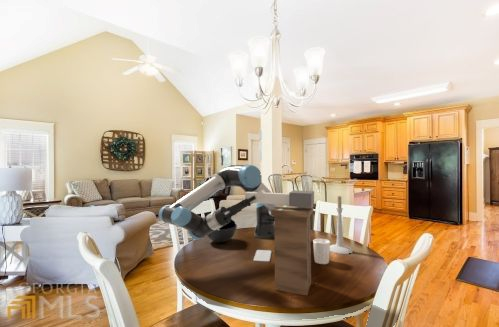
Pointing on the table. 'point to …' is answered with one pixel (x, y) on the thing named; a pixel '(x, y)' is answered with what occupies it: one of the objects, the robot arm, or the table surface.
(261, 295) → the table surface
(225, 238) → the bowl of black rocks
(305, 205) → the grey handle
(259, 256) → the smartphone
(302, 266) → the tall stand
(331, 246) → the candlestick
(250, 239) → the table surface
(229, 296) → the table surface
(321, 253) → the white cup
